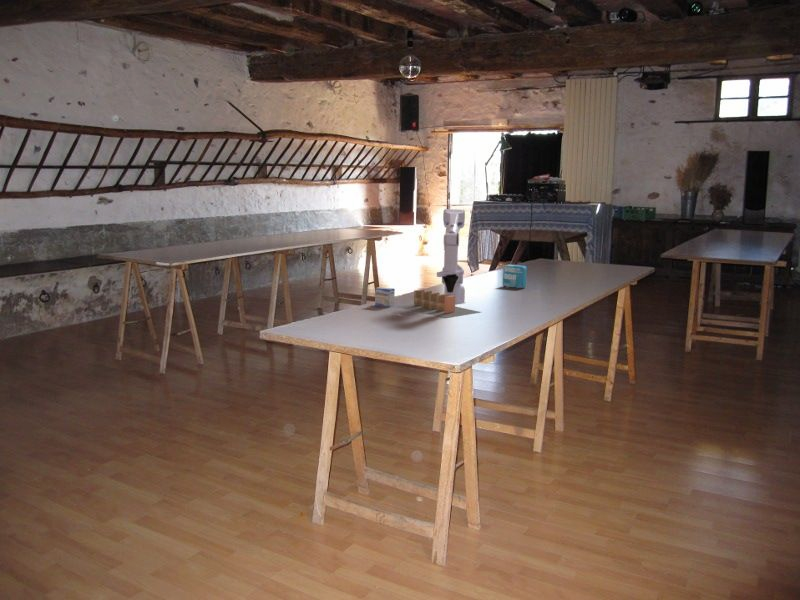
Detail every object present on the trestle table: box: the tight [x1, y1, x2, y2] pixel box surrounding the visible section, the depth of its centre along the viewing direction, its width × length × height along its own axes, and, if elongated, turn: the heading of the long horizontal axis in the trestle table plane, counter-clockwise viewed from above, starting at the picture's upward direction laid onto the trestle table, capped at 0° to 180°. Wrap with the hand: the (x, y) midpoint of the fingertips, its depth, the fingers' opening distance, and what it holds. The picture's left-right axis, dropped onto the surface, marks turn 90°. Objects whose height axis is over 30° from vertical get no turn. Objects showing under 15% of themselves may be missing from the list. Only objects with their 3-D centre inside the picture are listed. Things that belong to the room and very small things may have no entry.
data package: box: [502, 264, 528, 289], centre depth 371 cm, size 12×4×12 cm, turn 58°
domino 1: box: [413, 289, 426, 306], centre depth 313 cm, size 2×5×7 cm, turn 130°
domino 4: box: [436, 293, 447, 312], centre depth 301 cm, size 2×5×7 cm, turn 130°
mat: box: [397, 303, 482, 319], centre depth 305 cm, size 22×32×1 cm
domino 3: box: [429, 291, 440, 310], centre depth 305 cm, size 2×5×7 cm, turn 130°
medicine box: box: [374, 286, 396, 308], centre depth 311 cm, size 8×4×9 cm, turn 62°
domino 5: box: [444, 296, 456, 313], centre depth 297 cm, size 2×5×7 cm, turn 130°
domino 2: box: [421, 290, 433, 308], centre depth 309 cm, size 2×5×7 cm, turn 130°
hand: (450, 292), depth 297 cm, fingers closed
